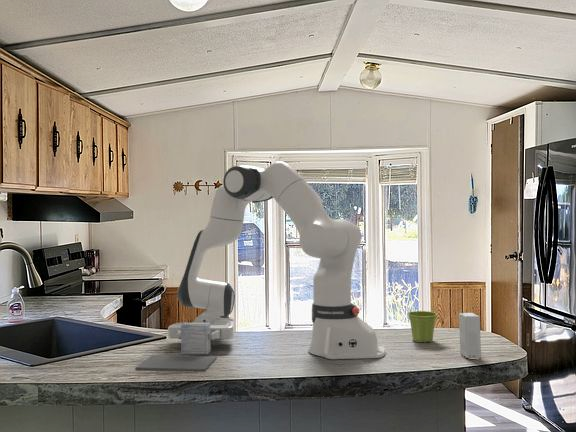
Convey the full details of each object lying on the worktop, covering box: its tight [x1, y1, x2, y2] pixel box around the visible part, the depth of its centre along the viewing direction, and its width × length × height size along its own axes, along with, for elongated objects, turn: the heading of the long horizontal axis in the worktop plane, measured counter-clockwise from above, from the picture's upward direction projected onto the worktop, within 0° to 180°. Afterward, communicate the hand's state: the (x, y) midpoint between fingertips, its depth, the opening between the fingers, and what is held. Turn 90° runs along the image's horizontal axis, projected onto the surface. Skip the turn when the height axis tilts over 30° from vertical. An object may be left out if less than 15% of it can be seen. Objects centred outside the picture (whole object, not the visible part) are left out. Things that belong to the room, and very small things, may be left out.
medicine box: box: [180, 322, 212, 356], centre depth 171 cm, size 8×4×9 cm, turn 84°
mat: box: [134, 354, 218, 372], centre depth 160 cm, size 19×13×1 cm
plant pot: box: [406, 310, 439, 343], centre depth 185 cm, size 9×9×9 cm
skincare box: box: [458, 312, 482, 359], centre depth 165 cm, size 6×4×12 cm
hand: (195, 336), depth 171 cm, fingers closed on medicine box, 8 cm apart
